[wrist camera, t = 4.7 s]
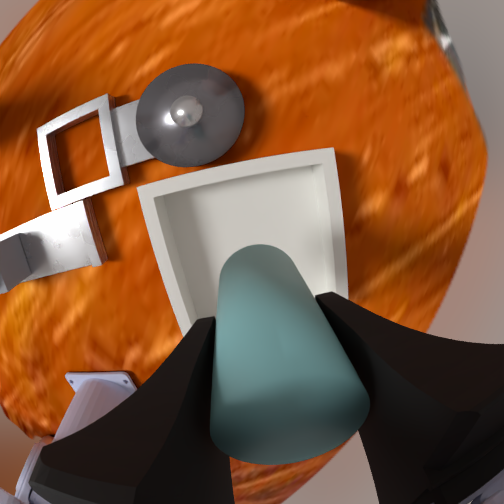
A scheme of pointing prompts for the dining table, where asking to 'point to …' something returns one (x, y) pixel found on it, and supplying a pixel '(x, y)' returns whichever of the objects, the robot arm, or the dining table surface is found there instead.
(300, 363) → the pin
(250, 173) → the tray
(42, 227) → the rail
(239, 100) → the block
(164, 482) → the robot arm
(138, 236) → the dining table surface
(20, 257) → the carriage
